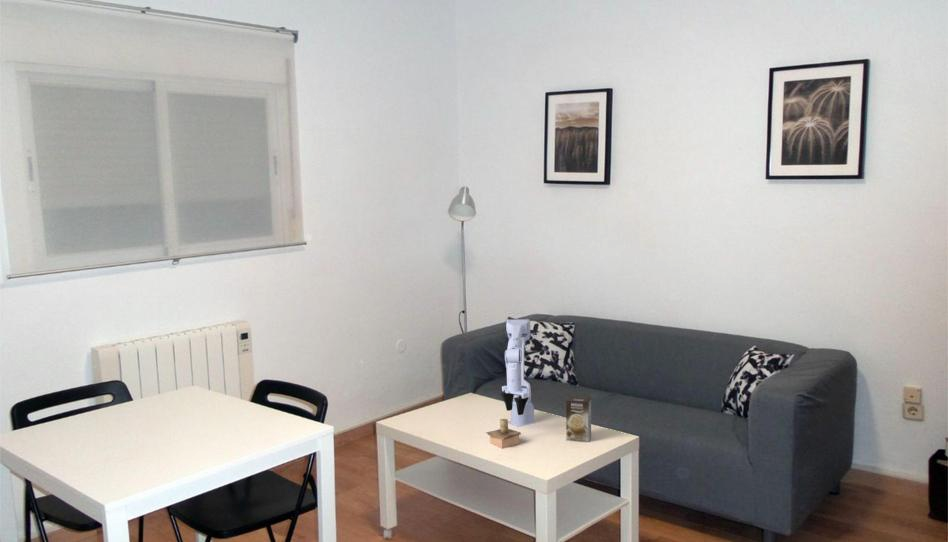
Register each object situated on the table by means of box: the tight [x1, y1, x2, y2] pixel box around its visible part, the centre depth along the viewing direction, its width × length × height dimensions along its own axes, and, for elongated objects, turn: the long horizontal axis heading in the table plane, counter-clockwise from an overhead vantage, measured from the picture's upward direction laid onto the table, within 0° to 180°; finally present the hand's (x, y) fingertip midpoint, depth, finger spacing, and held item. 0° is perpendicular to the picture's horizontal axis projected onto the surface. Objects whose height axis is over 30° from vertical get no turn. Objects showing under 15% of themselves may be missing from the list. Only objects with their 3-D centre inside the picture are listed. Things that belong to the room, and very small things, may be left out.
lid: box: [487, 418, 522, 440], centre depth 296 cm, size 9×9×6 cm
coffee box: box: [565, 396, 592, 443], centre depth 300 cm, size 9×6×16 cm
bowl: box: [489, 435, 520, 450], centre depth 296 cm, size 8×8×4 cm
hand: (514, 412), depth 303 cm, fingers open, 7 cm apart
